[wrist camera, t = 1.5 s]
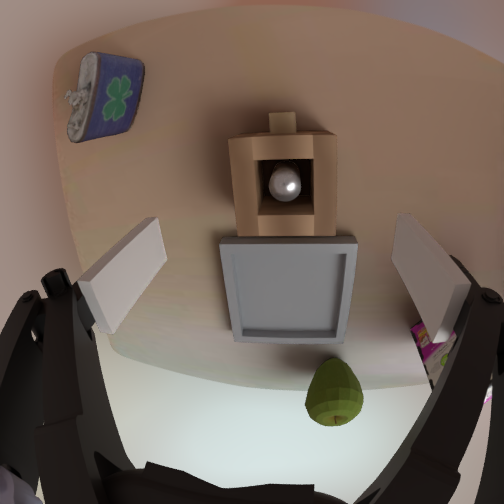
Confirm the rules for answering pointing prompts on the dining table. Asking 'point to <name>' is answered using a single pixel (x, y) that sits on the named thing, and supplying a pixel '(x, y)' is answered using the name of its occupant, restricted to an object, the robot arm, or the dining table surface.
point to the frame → (267, 207)
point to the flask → (105, 96)
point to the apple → (334, 394)
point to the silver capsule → (285, 181)
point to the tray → (289, 287)
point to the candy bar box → (435, 354)
